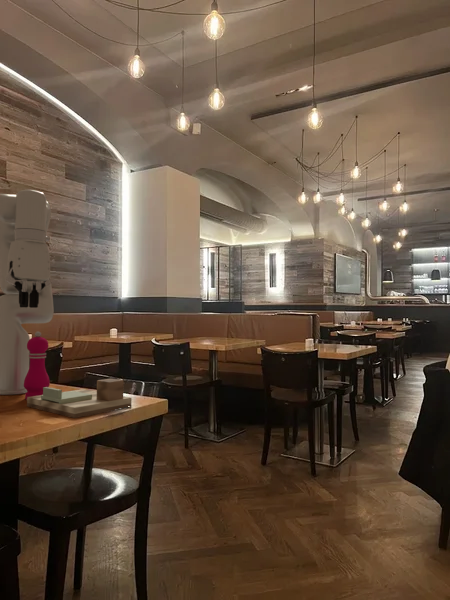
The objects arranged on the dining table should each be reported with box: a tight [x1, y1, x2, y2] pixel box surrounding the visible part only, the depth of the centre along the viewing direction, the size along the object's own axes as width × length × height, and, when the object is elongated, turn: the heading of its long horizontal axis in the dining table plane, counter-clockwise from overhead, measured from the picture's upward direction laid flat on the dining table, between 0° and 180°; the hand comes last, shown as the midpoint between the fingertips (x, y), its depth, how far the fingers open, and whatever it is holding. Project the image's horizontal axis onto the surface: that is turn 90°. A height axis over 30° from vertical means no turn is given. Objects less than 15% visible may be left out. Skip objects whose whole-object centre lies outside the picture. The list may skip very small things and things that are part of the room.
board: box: [26, 388, 133, 419], centre depth 125 cm, size 22×18×2 cm
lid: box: [41, 386, 92, 404], centre depth 122 cm, size 9×10×3 cm
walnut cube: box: [96, 378, 125, 401], centre depth 123 cm, size 5×5×5 cm
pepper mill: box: [24, 331, 51, 401], centre depth 137 cm, size 7×7×20 cm
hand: (28, 306), depth 120 cm, fingers closed
